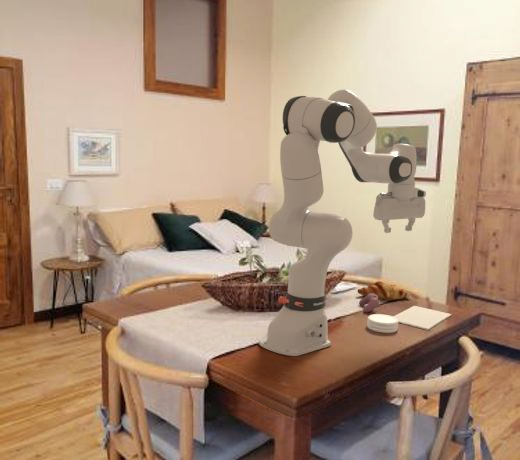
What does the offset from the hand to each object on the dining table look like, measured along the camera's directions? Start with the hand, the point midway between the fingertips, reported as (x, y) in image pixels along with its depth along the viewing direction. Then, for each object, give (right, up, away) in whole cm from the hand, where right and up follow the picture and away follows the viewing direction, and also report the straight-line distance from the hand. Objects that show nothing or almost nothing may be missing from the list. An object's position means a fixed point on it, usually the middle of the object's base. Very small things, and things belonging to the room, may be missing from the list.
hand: (398, 231), depth 178 cm
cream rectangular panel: (+9, -31, +4) cm, 32 cm away
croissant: (+2, -27, +28) cm, 39 cm away
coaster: (-7, -32, -8) cm, 34 cm away
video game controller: (-7, -29, +13) cm, 32 cm away
